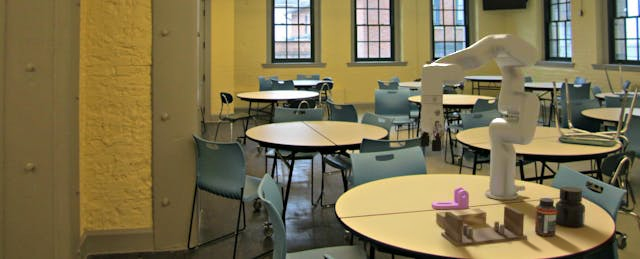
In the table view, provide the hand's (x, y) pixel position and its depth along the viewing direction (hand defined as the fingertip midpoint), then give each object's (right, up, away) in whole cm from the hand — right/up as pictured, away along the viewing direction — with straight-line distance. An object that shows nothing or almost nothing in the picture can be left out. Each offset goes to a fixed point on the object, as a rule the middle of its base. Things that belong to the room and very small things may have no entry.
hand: (430, 148), depth 179 cm
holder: (+12, -27, -19) cm, 35 cm away
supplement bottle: (+33, -27, -18) cm, 46 cm away
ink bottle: (+45, -25, -8) cm, 52 cm away
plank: (+9, -25, -6) cm, 28 cm away
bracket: (+10, -23, +13) cm, 28 cm away
